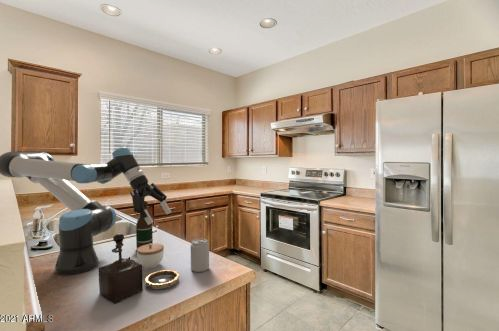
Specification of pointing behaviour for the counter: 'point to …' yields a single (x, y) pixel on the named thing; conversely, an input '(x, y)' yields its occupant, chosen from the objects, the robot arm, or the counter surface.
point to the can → (199, 255)
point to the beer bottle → (143, 230)
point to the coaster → (162, 280)
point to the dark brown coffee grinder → (120, 276)
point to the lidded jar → (150, 255)
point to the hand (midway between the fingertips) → (160, 218)
